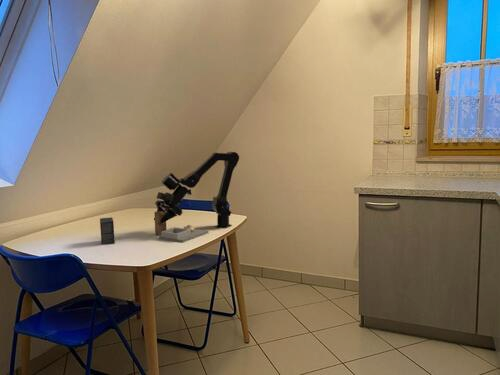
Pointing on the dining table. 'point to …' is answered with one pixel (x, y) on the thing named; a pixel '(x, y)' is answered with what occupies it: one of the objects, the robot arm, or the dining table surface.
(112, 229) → the box
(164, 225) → the wooden block
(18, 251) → the dining table surface
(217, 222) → the robot arm
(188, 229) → the housing
